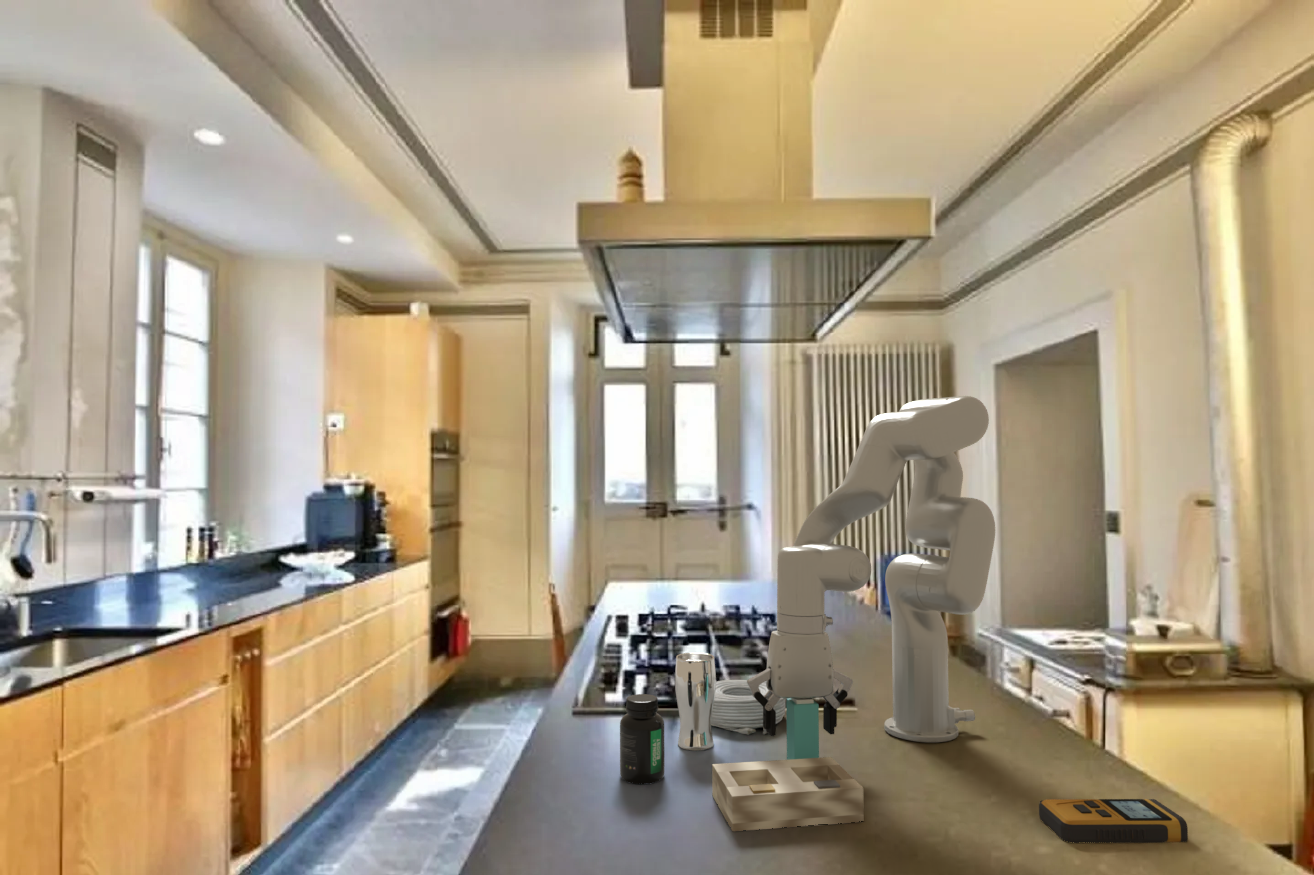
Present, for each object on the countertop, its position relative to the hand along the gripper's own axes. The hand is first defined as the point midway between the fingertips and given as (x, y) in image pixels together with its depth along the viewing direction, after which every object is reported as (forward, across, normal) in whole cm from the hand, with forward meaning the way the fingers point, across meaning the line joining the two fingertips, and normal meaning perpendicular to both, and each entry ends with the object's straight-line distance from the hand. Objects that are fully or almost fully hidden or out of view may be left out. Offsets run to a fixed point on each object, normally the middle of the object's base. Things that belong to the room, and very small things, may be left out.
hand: (799, 732), depth 133 cm
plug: (+5, -1, 0) cm, 5 cm away
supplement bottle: (+6, +25, +1) cm, 26 cm away
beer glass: (+6, +14, -12) cm, 20 cm away
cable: (+6, +3, -26) cm, 27 cm away
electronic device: (+5, -32, +29) cm, 44 cm away
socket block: (+5, +7, +16) cm, 18 cm away
